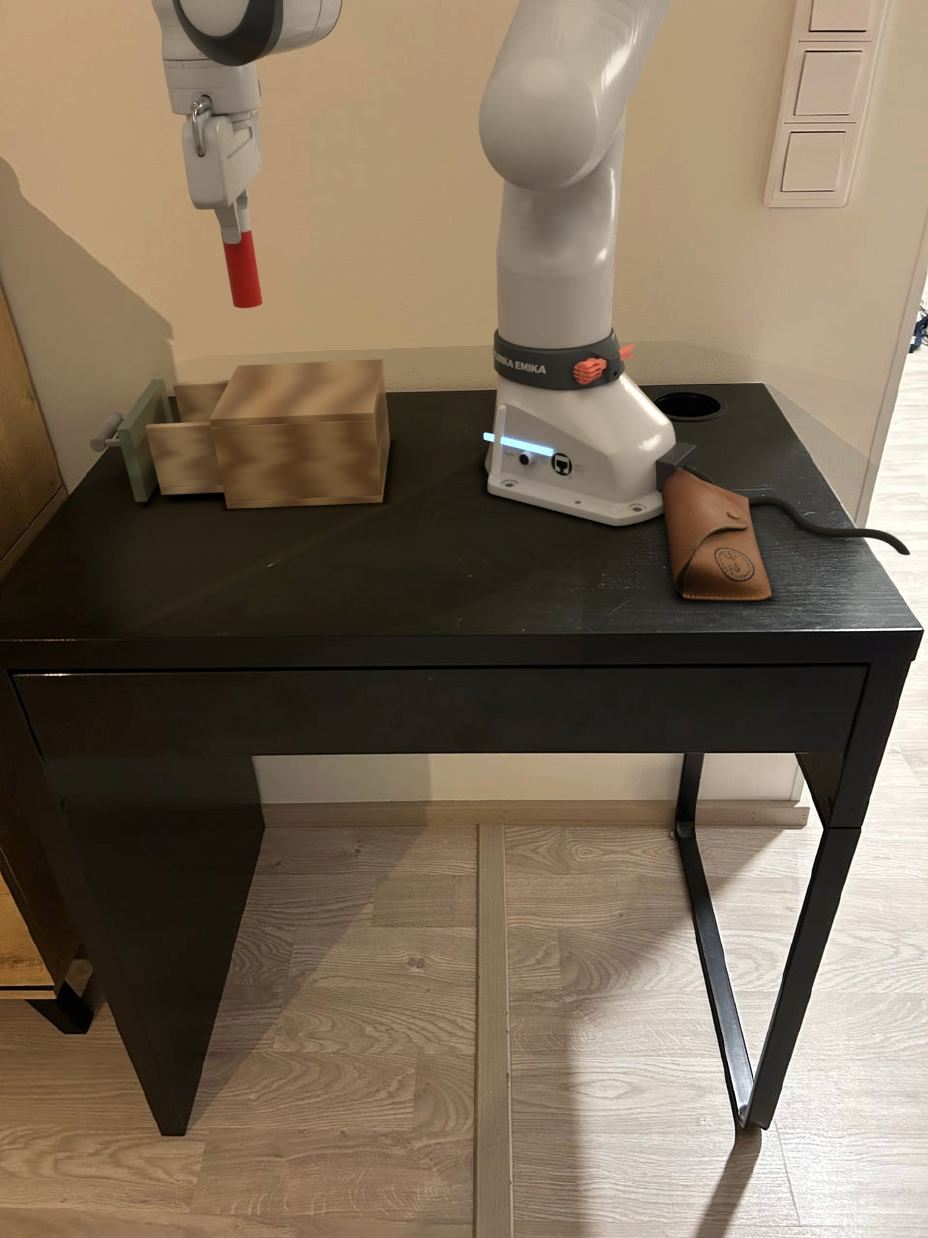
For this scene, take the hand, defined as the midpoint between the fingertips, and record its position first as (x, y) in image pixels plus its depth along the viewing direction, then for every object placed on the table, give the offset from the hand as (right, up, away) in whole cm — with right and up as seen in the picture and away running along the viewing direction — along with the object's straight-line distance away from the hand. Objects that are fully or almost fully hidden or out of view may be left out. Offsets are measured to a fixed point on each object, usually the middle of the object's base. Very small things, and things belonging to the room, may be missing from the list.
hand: (237, 236), depth 102 cm
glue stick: (0, -6, +4) cm, 7 cm away
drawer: (-4, -25, -1) cm, 25 cm away
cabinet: (+8, -25, -1) cm, 27 cm away
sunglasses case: (+47, -35, -16) cm, 60 cm away
